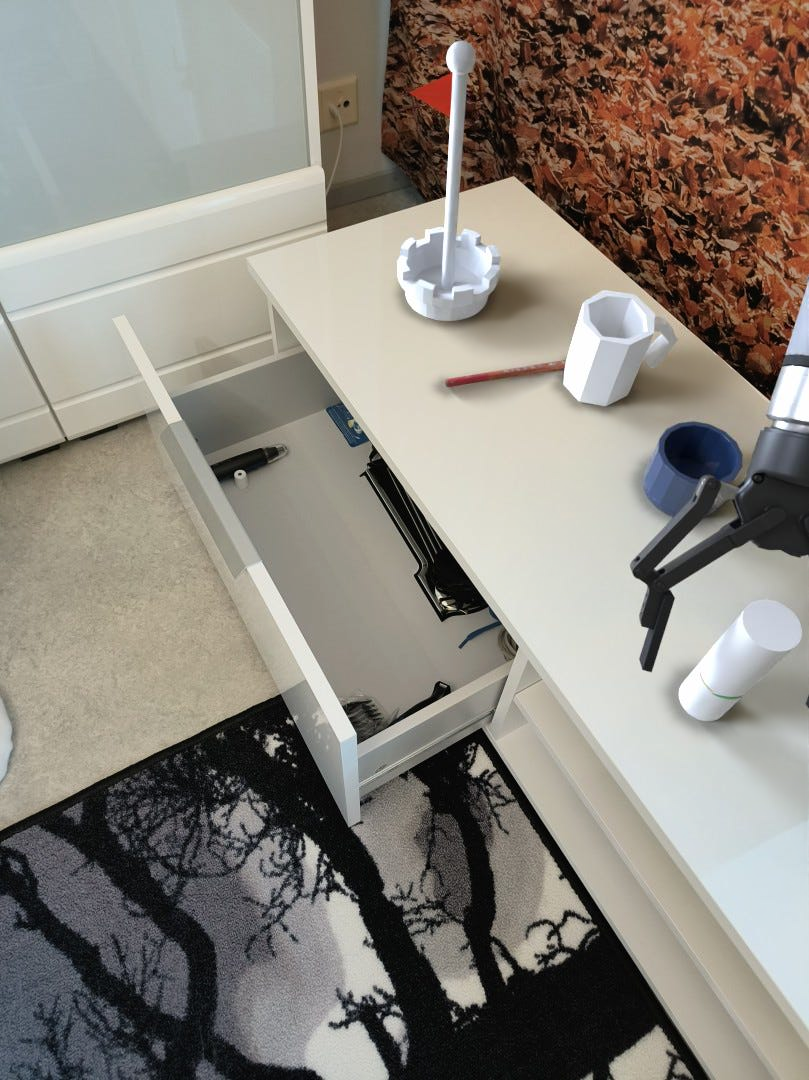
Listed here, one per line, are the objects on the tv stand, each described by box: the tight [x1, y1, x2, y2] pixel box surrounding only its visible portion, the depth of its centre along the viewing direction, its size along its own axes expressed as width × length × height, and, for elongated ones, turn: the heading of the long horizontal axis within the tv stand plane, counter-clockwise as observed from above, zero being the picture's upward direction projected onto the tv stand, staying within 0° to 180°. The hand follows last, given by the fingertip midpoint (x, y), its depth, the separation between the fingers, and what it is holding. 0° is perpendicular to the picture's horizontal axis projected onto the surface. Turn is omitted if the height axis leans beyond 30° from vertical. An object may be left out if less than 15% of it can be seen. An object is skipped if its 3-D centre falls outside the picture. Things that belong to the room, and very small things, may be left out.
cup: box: [642, 420, 744, 518], centre depth 78 cm, size 8×8×6 cm
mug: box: [563, 289, 679, 407], centre depth 85 cm, size 12×9×10 cm
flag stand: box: [396, 40, 501, 322], centre depth 85 cm, size 13×13×30 cm
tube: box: [678, 598, 803, 722], centre depth 61 cm, size 4×4×15 cm
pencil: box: [444, 359, 566, 388], centre depth 89 cm, size 19×1×1 cm, turn 103°
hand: (728, 688), depth 61 cm, fingers open, 13 cm apart
